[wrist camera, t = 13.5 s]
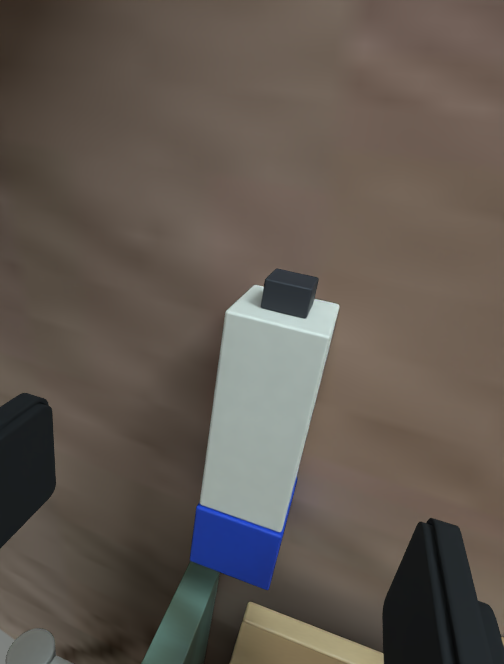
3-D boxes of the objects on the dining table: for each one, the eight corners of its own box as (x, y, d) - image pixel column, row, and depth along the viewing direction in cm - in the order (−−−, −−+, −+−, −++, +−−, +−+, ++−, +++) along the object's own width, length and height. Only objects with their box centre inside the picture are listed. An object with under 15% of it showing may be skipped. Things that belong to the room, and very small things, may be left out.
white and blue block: (256, 256, 12) (225, 279, 10) (349, 277, 12) (340, 306, 9) (217, 501, 16) (188, 561, 13) (285, 525, 15) (268, 591, 13)
